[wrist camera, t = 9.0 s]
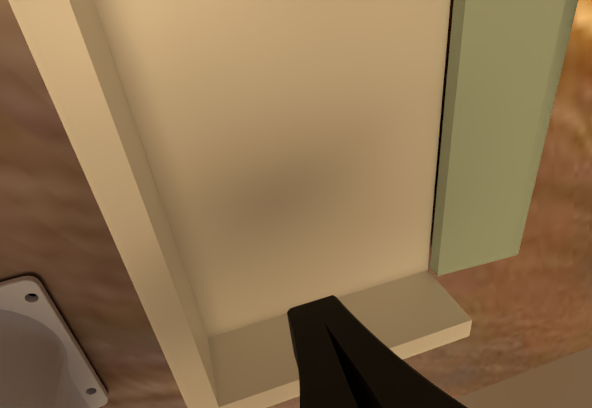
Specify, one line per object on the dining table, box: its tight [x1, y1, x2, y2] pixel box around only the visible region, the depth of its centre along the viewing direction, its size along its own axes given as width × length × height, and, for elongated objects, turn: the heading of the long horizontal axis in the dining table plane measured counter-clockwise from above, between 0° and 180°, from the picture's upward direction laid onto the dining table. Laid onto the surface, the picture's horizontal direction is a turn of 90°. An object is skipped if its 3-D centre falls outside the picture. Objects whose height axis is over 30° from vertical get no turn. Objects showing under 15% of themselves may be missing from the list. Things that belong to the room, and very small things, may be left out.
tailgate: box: [430, 0, 578, 276], centre depth 18 cm, size 19×1×5 cm
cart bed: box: [8, 0, 472, 408], centre depth 16 cm, size 22×14×6 cm, turn 6°
